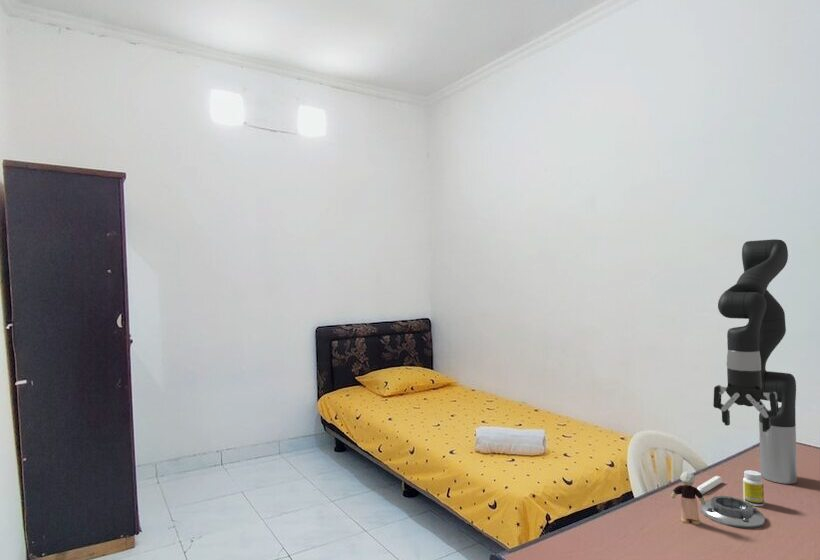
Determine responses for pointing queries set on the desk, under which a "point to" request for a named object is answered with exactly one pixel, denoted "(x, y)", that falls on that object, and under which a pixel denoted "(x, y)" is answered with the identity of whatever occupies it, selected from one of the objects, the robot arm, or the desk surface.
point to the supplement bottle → (753, 488)
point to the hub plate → (732, 521)
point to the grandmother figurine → (688, 498)
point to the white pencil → (709, 484)
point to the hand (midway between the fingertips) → (745, 427)
